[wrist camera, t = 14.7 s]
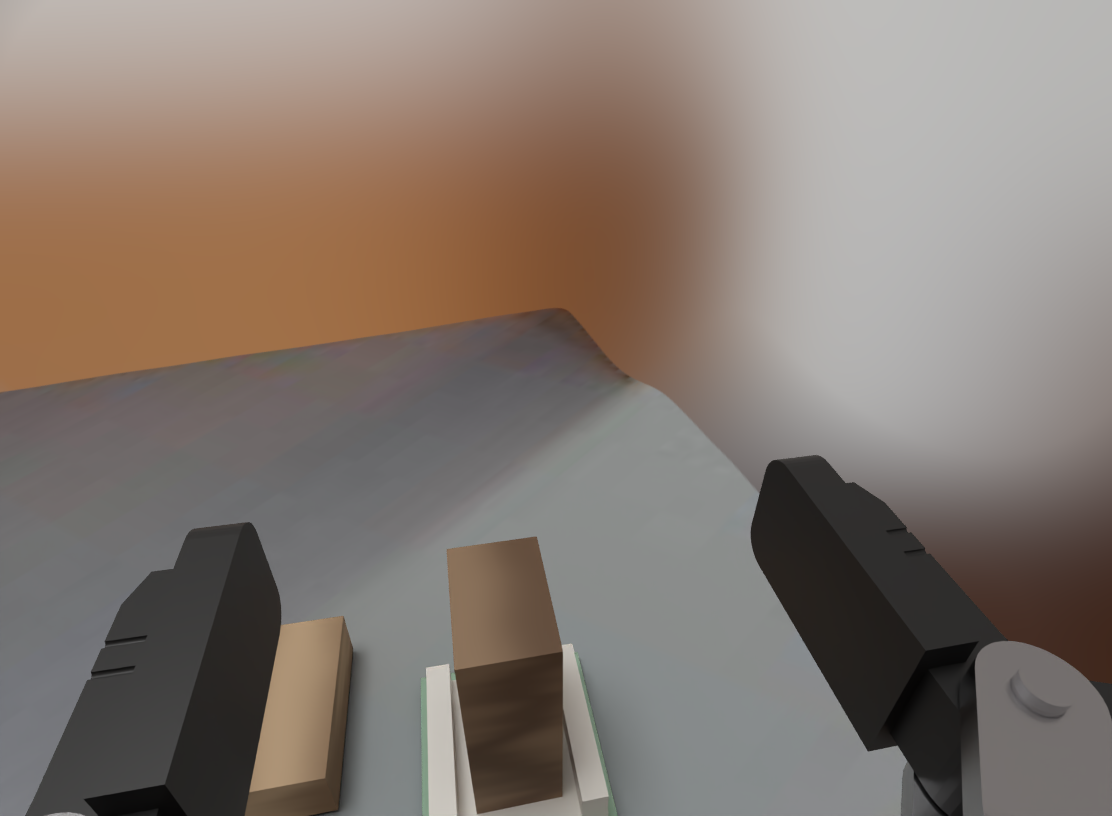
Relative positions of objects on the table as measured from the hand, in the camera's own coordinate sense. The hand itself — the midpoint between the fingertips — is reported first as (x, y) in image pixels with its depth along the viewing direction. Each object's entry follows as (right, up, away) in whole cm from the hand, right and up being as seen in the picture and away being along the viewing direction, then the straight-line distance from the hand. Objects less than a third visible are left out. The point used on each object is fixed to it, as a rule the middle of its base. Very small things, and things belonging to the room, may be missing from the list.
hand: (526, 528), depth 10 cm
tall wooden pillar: (-2, -15, +22) cm, 26 cm away
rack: (-2, -16, +22) cm, 27 cm away
